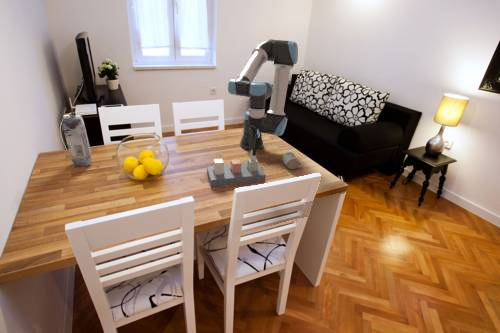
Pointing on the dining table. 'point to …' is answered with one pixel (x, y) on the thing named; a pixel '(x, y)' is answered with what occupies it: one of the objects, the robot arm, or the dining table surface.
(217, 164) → the key cream
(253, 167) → the key sage
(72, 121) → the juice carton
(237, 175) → the console
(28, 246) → the dining table surface
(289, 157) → the ceramic mug
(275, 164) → the dining table surface
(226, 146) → the dining table surface
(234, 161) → the key terracotta
